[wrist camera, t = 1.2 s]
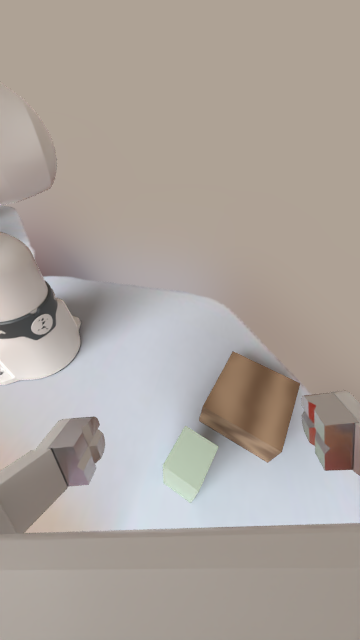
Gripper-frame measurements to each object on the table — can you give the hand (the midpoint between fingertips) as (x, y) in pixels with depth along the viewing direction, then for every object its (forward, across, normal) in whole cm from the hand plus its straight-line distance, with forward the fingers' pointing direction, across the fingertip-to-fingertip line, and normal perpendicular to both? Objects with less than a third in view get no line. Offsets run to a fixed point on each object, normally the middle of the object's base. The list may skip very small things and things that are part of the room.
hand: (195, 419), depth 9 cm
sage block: (+18, +6, +25) cm, 32 cm away
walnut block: (+28, -4, +23) cm, 36 cm away
